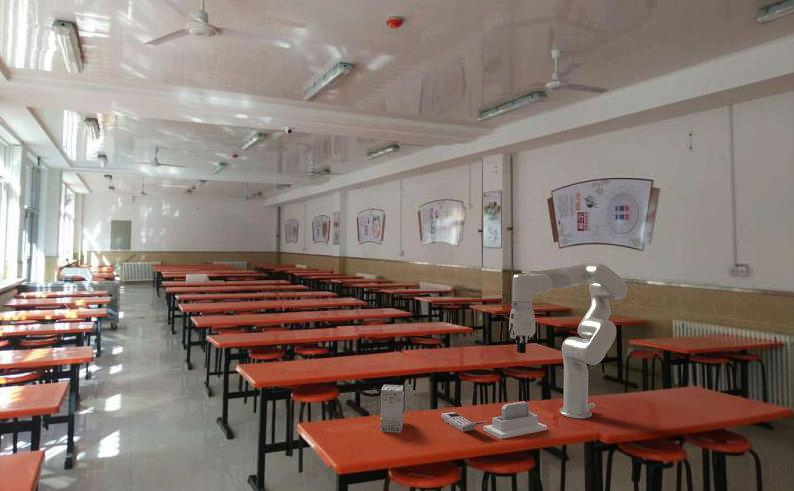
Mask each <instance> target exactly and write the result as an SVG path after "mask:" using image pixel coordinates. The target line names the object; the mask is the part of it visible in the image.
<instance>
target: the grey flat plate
mask: <svg viewBox="0 0 794 491" xmlns="http://www.w3.org/2000/svg"><path fill="white" fill-rule="evenodd" d="M529 412H530V404H529V403H528V402H527V401H524V400H523V401H517V402H509V403H504V405H502V407H501V416H502V419H501V421H504V420H510V419H515V418H521V417H527V416H529Z"/></svg>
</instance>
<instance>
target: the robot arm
mask: <svg viewBox="0 0 794 491" xmlns="http://www.w3.org/2000/svg"><path fill="white" fill-rule="evenodd" d="M582 285H589V286H588V291H589V292H588V293H589V294H590V301H591V302H590V306H589V308H588V309H587V312H586V313H585V315H584V317H583V318H582V319H581V321H580V322H579V324H578V327H577V334H578V335H579V337H577V336H570V337H569V336H568V337H567V338H565V339H564V340H563V342H562V344H561V354H562V359H563V406H562V407H560V408H559V413H560V414H561V415H562V416H565V417H567V418H572V419H578V420H579V419H580V420H581V419H590V418H591V417H592V416H593V415H592V414H593V413H592V411H590V410H591V409H594V408H596V404H595V403H594V402H589V369H588V366H587V365H590V366H591V365H592V366H594V365H598V364H599V363H601V362H602V360H603V359H604V358H605V356H606V354H607V353H608V351H609V350H610V348H611V346H612V345H613V343H614V341H615V340H616V338H617V328H616V325H615V323H614V322H612V321H611V320H609V318H610V316H611V312H612V311H611V305H610V301H609V300H614V301H615V300H622V299H624V298H626V296H627V295H628V291H629V289H628V284H627V283H626V282H625V281H624V279H623V278H622V277H620V276H619V274H617V273H616V272H615V271H614V270H613V269H611V268H610V267H609V266H608V265H605V264H603V263H593V262H592V263H591V262H586V263H580V264H576V265H575V264H573V265H571V266H564V267H557V268H552V269H551V268H550V269H545V270H543V269H542V270H536V271H532V272H526V273H524V274H523V273H522V274H521V273H519V274H517V273H515V274H514V275H513V277H512V287H511V288H512V293H511V294H512V296H511V297H512V299H511V302H512V303H510V306H511V307H512V308H511V310H510V313H509V314H510V315H509V321H508V322H509V323H508V332H509V334H510V336H509V337H510V339H514V340H515V342H516V352H517V353H519V354H526V353H527V350H526V349H527V343H528V340H529V339H530V338H532V337H533V336H534V335H535V334H536V316H535V310H534V309H533V293H538V294H546V293H548V292H550V291H551V290H552V289H567V288H568V289H569V288H573V287H577V286H582Z"/></svg>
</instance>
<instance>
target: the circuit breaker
mask: <svg viewBox="0 0 794 491" xmlns="http://www.w3.org/2000/svg"><path fill="white" fill-rule="evenodd" d="M380 391H381V393H380V403H381V404H380V405H381V406H380V430H379V432H381V433H382V432H384V433H386V432H387V433H399V434H400V433H401V432H402V428H403V426H404V423H403V422H404V419H403V418H404V412H405V392H404V384H400V385H399V384H383V386H381V390H380Z"/></svg>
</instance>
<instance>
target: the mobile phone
mask: <svg viewBox="0 0 794 491" xmlns="http://www.w3.org/2000/svg"><path fill="white" fill-rule="evenodd" d="M441 419H442V420H443V422H444V423H447V424H448V423H449V424H448V425H450V426H451V427H453V428H455V429H457V430H459V431H460V432H471V431H474V429H475V427H476V426H479V425H482V424H484V423H485V424H486V423H487V421H486V420H485V421H477V422H473V421H472V422H471V421H470V420H468V419H466V418H465V417H463V415H461V414H460V413H457V412H453V411H451V412H450V411H449V412H442V413H441Z"/></svg>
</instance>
